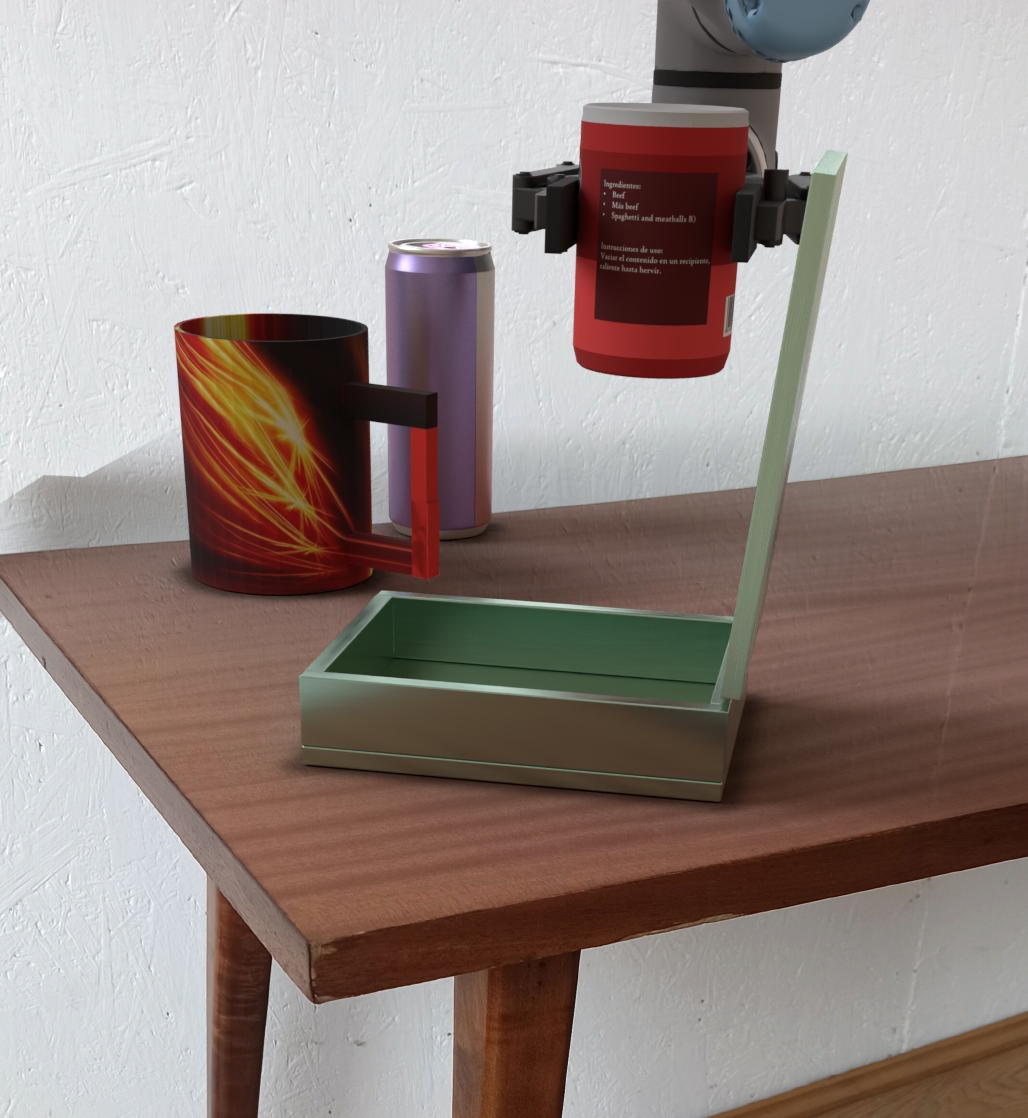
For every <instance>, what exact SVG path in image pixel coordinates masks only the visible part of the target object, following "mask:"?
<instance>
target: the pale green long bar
mask: <svg viewBox="0 0 1028 1118" xmlns="http://www.w3.org/2000/svg"><path fill="white" fill-rule="evenodd" d="M848 154H849V153H848V152H847V151H841V150H834V149H827V150H826V151H825V153H824V154H823V156H822V158H821V159H820V160H819V162H818V163H817V164H816V166H815V167H814V169H813V171H812V172H811V173H810V174H811V180H810V186H809V191H808V197H807V203H806V208H805V214H804V220H803V225H802V231H801V237H800V242H799V245H798V249H797V254H796V260H795V266H794V272H793V276H792V283H791V288H790V294H789V300H788V305H787V311H786V317H785V323H784V328H783V334H782V340H781V345H780V350H779V356H778V362H777V368H776V373H775V374H776V375H775V379H774V385H773V389H772V390H773V391H772V396H771V402H770V407H769V414H768V420H767V424H766V430H765V435H764V441H763V447H762V453H761V459H760V464H759V469H758V476H757V481H756V487H755V493H754V498H753V505H752V510H751V516H750V522H749V526H748V532H747V538H746V543H745V550H744V555H743V561H742V566H741V573H740V576H739V577H740V578H739V582H738V583H739V584H738V589H737V595H736V600H735V604H734V605H735V606H734V612H733V616H732V617H733V623H732V628H731V634H730V640H729V645H728V651H727V657H726V662H725V668H724V674H723V679H722V685H721V691H720V698H724V699H730V700H736V701H740V700H741V697H742V693H743V689H744V685H745V681H746V677H747V673H748V674H749V670H748V669H750V665H751V661H752V657H753V652H754V649H755V645H756V641H757V637H758V633H759V628H760V625H761V621H762V617H763V613H764V609H765V605H766V604H765V603H766V599H767V593H768V588H769V583H770V576H771V571H772V565H773V561H774V555H775V550H776V545H777V539H778V534H779V528H780V523H781V517H782V511H783V506H784V501H785V496H786V490H787V485H788V479H789V475H790V468H791V463H792V458H793V453H794V447H795V441H796V437H797V430H798V425H799V420H800V414H801V409H802V404H803V399H804V392H805V388H806V382H807V377H808V371H809V367H810V361H811V355H812V350H813V345H814V339H815V334H816V328H817V323H818V318H819V313H820V306H821V302H822V297H823V291H824V286H825V279H826V273H827V269H828V264H829V257H830V254H831V253H830V252H831V247H832V242H833V236H834V230H835V225H836V221H837V214H838V209H839V204H840V199H841V198H840V197H841V193H842V188H843V184H844V183H843V181H844V177H845V172H846V167H847V166H846V165H847V161H848V156H849V155H848Z"/></svg>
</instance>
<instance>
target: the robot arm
mask: <svg viewBox="0 0 1028 1118" xmlns="http://www.w3.org/2000/svg"><path fill="white" fill-rule="evenodd" d="M870 2H871V0H657V4H656V8H657V9H656V26H655V27H656V28H655V29H656V30H655V45H654V46H655V48H654V67H653V68H654V69H653V73H652V74H653V75H652V77H653V78H652V79H653V80H652V88H651V89H652V90H651V102H650V103H663V104H690V105H709V106H725V107H736V108H743V109H745V110H747V111H749V116H748V122H749V133H748V145H747V163H746V174H745V186H743V187H742V188H741V189H740V190H739V192H738V193H737V194H736V202H735V214H734V227H733V239H732V251H731V262H738V264H739V263H740V264H741V263H742V264H745V263H746V264H748V263H749V262H750V260H751V258H753V257H752V256H753V255H754V254H755V252H756V250H757V249H758V245H761V246H763V247H764V248H766V249H774V248H776V247H780V246H782V245H783V242H784V235H786V237H787V238H788V239H789V240H790V241H791V242H792V243H793V244H795V245H796V246H797V245H798V246H799V242H800V237H801V231H802V225H803V220H804V214H805V208H806V203H807V197H808V191H809V186H810V180H811V174H812V173H811V171H800V172H799V173H797V174H795V173H794V174H791V175H790V169H789V168H787V169H783V168H779V152H778V151H777V138H778V125H779V114H780V106H781V105H780V104H781V95H782V94H781V93H782V81H783V72H782V70H783V64H787V63H789V62H797V61H801V60H802V61H803V60H805V59H808V58H811V57H815V56H816V55H819V54H822V53H824V52H826V51H829V50H831V49H832V48H834V47H835V46H836V45H838V44H839V43H841V42H842V41H844V39H846V38H847V37H848V36H849V34H850V33H851V32H852V31H853V30H854V29H855V28H856V26H858V24H859V23H860V22H861V21H862V19H863V17H864V15H865V13H866V11H867V8H868V6H869V4H870ZM578 182H579V164H575V162H573V160H572V161H571V160H563V161H562V162H561V163H557V164H555V166H554V167H548V168H543V169H538V170H532V171H531V170H530V171H525V170H524V171H519V172H518V173H515V174H512V188H511V189H512V190H511V192H512V193H511V198H512V199H511V231H512V232H514V233H517V234H518V235H529V234H530V233H532V232H537V231H538V232H539V231H542V230H544V252H543V253H544V254H548V255H549V254H552V255H562V254H564V253H568V250H569V249H571V248H572V247H574V246H576V239H577V211H578Z"/></svg>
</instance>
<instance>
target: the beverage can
mask: <svg viewBox="0 0 1028 1118" xmlns="http://www.w3.org/2000/svg"><path fill="white" fill-rule="evenodd" d="M387 248H388V250H389V251H388V253H387V258H386V261H385V264H384V284H385V285H384V291H385V292H384V297H385V300H384V301H385V305H384V306H385V352H386V353H385V361H386V362H385V363H386V364H385V365H386V366H385V367H386V368H385V370H386V371H385V372H386V385H387V386H394V387H402V388H409V389H417V390H424V391H431V392H438V500H439V541H440V540H443V541H444V540H445V541H446V540H447V541H448V540H459V539H460V540H461V539H466V538H467V539H468V538H473V537H476V536H478V535H480V534H483V532H484V531H486V529H487V528H488V525H489V524H490V522H491V520H492V515H493V514H492V513H493V512H492V510H493V502H492V501H493V446H494V445H493V443H494V440H493V439H494V377H495V376H494V372H495V369H494V367H495V309H496V308H495V301H496V299H495V298H496V295H495V294H496V267H495V262H494V260H493V255H492V250H493V246H492V244H491V243H489V242H486V241H481V240H475V239H467V238H452V237H451V238H448V237H447V238H446V237H443V238H442V237H413V238H402V239H394V240H390V241H389V242H388V243H387ZM386 425H387V426H386V427H387V429H386V430H387V435H386V436H387V490H388V491H387V492H388V493H387V494H388V495H387V496H388V499H387V501H388V518H389V519H390V522H391V524H392V526H393V527H394V529H395V530H396V531H397V532H399V533H400V534H402V535H404V536H408V537H411V538H412V526H411V427H406V426H399V425H392V424H386Z"/></svg>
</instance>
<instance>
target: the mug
mask: <svg viewBox="0 0 1028 1118" xmlns="http://www.w3.org/2000/svg"><path fill="white" fill-rule="evenodd" d="M173 331H174V343H175V347H174V348H175V359H176V372H177V375H176V376H177V387H178V388H177V389H178V401H179V412H180V414H179V415H180V416H179V417H180V428H181V430H180V431H181V442H182V456H183V468H184V469H183V470H184V482H185V483H184V485H185V495H186V497H185V498H186V511H187V523H188V526H187V527H188V537H189V553H190V566H191V567H190V568H191V575H192V577H194V579H196V581H198V582H200V583H202V584H204V585H206V586H209V587H212V588H216V589H220V590H225V591H229V592H235V593H236V592H237V593H243V594H254V595H270V596H271V595H276V596H285V595H306V594H308V595H309V594H318V593H326V592H332V591H336V590H341V589H346V588H349V587H351V586H355V585H358V584H360V583H362V582H364V581H366V580H368V579H369V578H370V577H371V576H372V574H373V571H374V570H379V571H383V572H389V573H396V574H401V575H405V576H410V577H412V578H418V579H423V580H429V579H433V578H435V577H438V576H440V540H439V500H438V392H431V391H424V390H417V389H409V388H402V387H394V386H387V384H380V383H379V384H378V383H370V351H369V348H370V347H369V346H370V345H369V343H370V342H369V327H368V326H367V324H365V323H362V322H360V321H357V320H353V319H347V318H342V317H336V316H328V315H327V316H326V315H319V314H318V315H317V314H303V313H278V312H277V313H273V312H271V313H268V312H267V313H266V312H265V313H263V312H262V313H261V312H260V313H259V312H258V313H253V312H252V313H233V314H218V315H208V316H207V315H205V316H201V317H193V318H189V319H185V320H182V321H179V322H177V323H175V324H174V325H173ZM372 422H373V423H379V424H386V425H387V424H392V425H399V426H406V427H411V526H412V537H411V539H406V538H399V537H395V536H389V535H382V534H377V533H373V508H372V507H373V504H372V503H373V501H372V500H373V499H372V454H371V453H372V451H371V450H372V449H371V423H372Z"/></svg>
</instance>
